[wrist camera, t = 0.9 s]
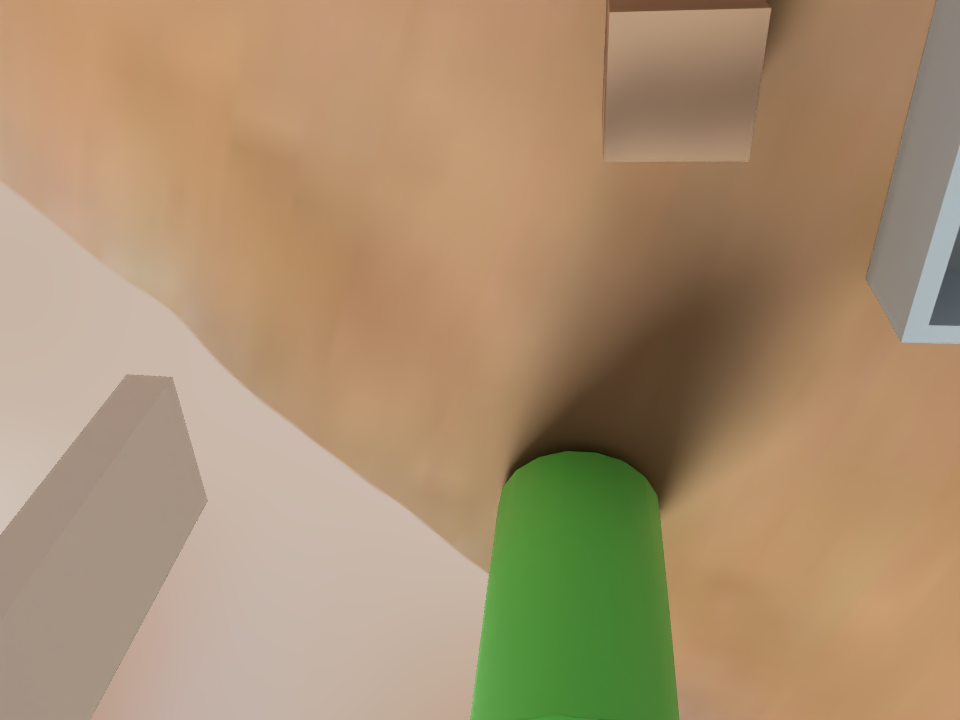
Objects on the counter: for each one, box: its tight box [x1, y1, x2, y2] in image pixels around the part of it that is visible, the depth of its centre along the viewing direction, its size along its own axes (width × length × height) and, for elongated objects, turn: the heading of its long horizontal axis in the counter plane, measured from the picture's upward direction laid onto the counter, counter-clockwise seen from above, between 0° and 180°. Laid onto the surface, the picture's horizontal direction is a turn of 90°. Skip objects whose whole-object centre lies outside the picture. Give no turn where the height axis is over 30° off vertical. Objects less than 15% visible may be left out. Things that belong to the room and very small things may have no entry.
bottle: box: [470, 451, 679, 720], centre depth 35 cm, size 9×9×25 cm
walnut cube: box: [602, 0, 771, 162], centre depth 29 cm, size 5×5×5 cm
